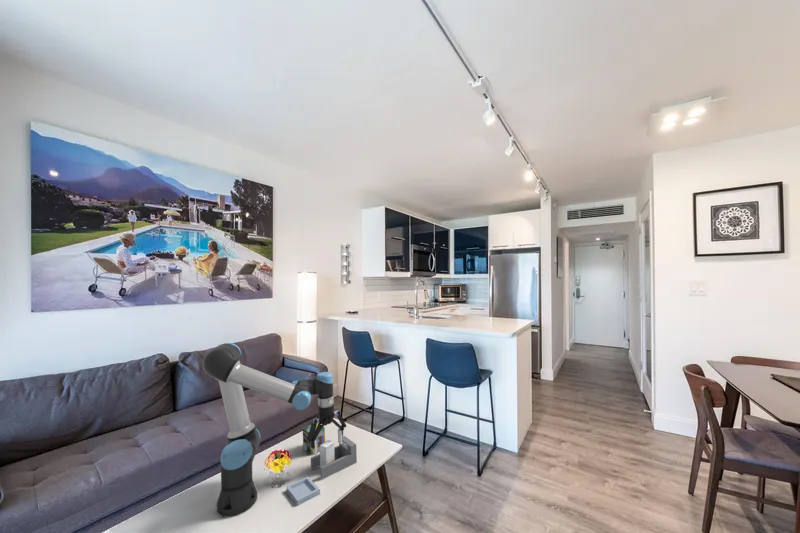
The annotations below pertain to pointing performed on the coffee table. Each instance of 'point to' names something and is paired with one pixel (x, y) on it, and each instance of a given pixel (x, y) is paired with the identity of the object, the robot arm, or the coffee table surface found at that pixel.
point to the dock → (347, 458)
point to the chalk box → (319, 439)
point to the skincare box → (326, 453)
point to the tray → (303, 490)
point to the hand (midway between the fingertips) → (328, 448)
